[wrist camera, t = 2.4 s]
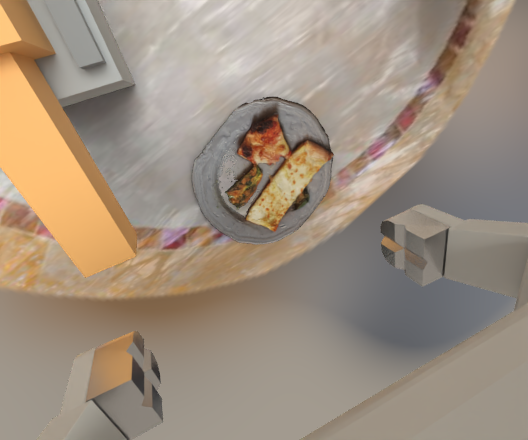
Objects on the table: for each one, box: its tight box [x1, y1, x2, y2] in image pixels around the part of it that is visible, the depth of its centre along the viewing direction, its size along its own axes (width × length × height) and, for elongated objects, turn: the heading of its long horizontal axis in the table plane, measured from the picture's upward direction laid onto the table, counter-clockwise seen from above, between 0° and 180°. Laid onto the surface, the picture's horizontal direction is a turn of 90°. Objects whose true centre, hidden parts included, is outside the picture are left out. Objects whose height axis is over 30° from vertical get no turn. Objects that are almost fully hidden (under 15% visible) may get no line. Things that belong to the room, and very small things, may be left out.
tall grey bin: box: [27, 0, 135, 107], centre depth 23 cm, size 10×14×28 cm
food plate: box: [192, 97, 334, 244], centre depth 50 cm, size 25×23×4 cm
